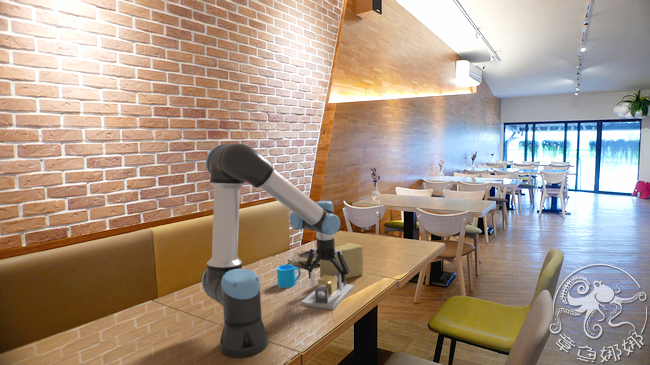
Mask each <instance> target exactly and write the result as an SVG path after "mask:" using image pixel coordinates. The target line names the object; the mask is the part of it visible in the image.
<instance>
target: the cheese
mask: <svg viewBox="0 0 650 365" xmlns="http://www.w3.org/2000/svg"><path fill="white" fill-rule="evenodd" d="M340 250H342V255H343V257H344V260H345V262H346V264H347V266H348V268H349V271H350V272H349V273H348V274H346V279H349V278H355V277H358V276H359V277H360V276H363V275H364V273H363V272H364V271H363V270H364V269H363V268H364V264H363V262H364V259H363V256H364V255H363V246H362V245H360V244H357V243H353V242H348V243H345V244H342V245H338V246H335V251H340ZM334 256H335V257H336V259H337V261H338V262H339V264H340V261H339V259H338V256H336V254H335V255H334ZM332 259H333V258H332ZM340 265H341V264H340ZM335 272H339V271H338V270H337V269H336V267H335V266H334V264H333V263H332V262H331V261H330V260H329V261H327V260H322V259H321V260H320V266H319V278H321V277H322V276H323V275H330V276H332V274H333V273H335Z"/></svg>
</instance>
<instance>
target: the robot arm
mask: <svg viewBox="0 0 650 365" xmlns="http://www.w3.org/2000/svg"><path fill="white" fill-rule="evenodd" d="M205 167H206V170H207V171H208V173H209V184H210V185H211V186H212V187H213V191H214V192H213V216H212V217H213V218H212V220H213V222H212V241H211V242H212V243H211V244H212V245H211V246H212V248H211V258H210V259H209V260H208V261H207V262H206V269H205V270H204V272H203V274H202V276H201V285H202V289H203V291H204V293H205V294H206V295H207V296H208V297H210V298H211V299H212V300H214V301H215V302H217V303H218V304H219V305H221V306H222V308H223V320H224V321H223V323H224V324H223V327H222V328H223V329H222V331H221V336H220V340H219V349H220V350H219V351H220V352H221V353H222V354H223V355H224V356H227V357H230V358H231V357H232V358H244V357H245V358H247V357H249V356H253V355H255V354H258V353H260V352H262V351H263V350H265V349H266V348H267V346H268V344H269V335H268V332H267V330H266V328H265V324H264V323H263V320H262V304H261V303H262V302H261V283H260V278H259V275H258V273H256V271H253V270H251V269H245V268H243V266H242V264H243V263H242V262H243V261H242V260H241V259H240V258H239V257H238V254H239V253H238V252H239V250H238V249H239V248H238V247H239V228H240V227H239V224H240V201H241V200H240V199H241V195H240V194H241V189H242V188H243V186H245V184H246V183H248V184H249V185H251V186H253V188H255V189H259V188H260V189H261V190H263V191H264V192H265V193H267V194H268V195H270V196H271V197H272V198H274V199H275V200H276V201H277V202H279V203H281V204H282V205H283V206H285V207H286V208H287V209H288V210H290V211H291V213H290V215H289V224H290V226H291V228H292V229H293V230H295V231H297V230H298V231H299V230H304V229H305V230H310V231H314V232H315V237H316V248H315V247H312V248H311V249H309V250H310V255H309V257H308V260H307V262H306V265H305V266H304V268H303V269H304V270H305V271H308V278H309V279H310V287H311V288H313V287H315V286H316V271H315V270H314V269H315V268H316V266H318V265H317V263H318V262H319V261H320V260H321V259H322V260H327V261H329V260H330V261H331V262H332V263H333V264H334V266H335V267H336V269H337V270H338V271H339V273H340V275H339V287H340V291H342V290H343V289H344V282H345V274H348V273H349V272H350V271H349V268H348V266H347V264H346V262H345V260H344V257H343V255H342V250H340V251H335V247H336V246H335V238H334V237H335V235H336V233H337V232H338V231H339V229H340V227H341V219H340V218H339V217H338V215H336V214H334V213H335V211H334V204H333V201H329V200H319V201H314V200H313V199H311V198H310V197H309V196H307V195H306V194H305V193H304V192H303V191H301V190H300V189H299V188H298V187H296V186H295V185H294V184H293V183H292V182H290V181H289V180H288V179H287V178H286V177H285V176H283V175H282V174H281V173H279V172H278V171H277V170H275V165H274V164H273V163H272V162H271V161H269V159H267V158H266V157H265V156H264V155H262V154H261V153H260V152H258V151H257V150H255V149H254V148H253V147H251V146H249V145H247V144H244V143H225V144H224V143H222V144H219V145H217V146H215V147H213V148H212V149H211V150H209V152H208V154H207V156H206V158H205ZM315 253H317V254H318V257H317V258H316V260H315V261H314V263H313V264H312V265H311V266H310V264H311V262H312V259H313V257H314V254H315ZM335 254H336V256H338V259H339V261H340V264H341V265H340V264H339V262H338V261H337V259H336V257H335V256H334V255H335ZM332 258H333V259H332Z"/></svg>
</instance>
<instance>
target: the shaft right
mask: <svg viewBox="0 0 650 365" xmlns="http://www.w3.org/2000/svg"><path fill="white" fill-rule="evenodd" d="M339 275H340V273H339V272H335V273H333V274H332V276H337V287H339ZM346 284H347V278H346V274H345V282H344V286H346Z"/></svg>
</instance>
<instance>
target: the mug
mask: <svg viewBox="0 0 650 365" xmlns="http://www.w3.org/2000/svg"><path fill="white" fill-rule="evenodd" d="M276 270H277V271H276V278H277V286H278V287H279V288H282V289H286V288H288V289H289V288H292V287H293V288H294V286H296V281H297V280H298V279H300V277H301V273H302V272H301V269H300V268H299V266H298V267H297V266H296V265H289V264H282V265H281V264H280V265H278V266H277V267H276ZM296 270H297V272H298V274H297V276H296Z"/></svg>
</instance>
